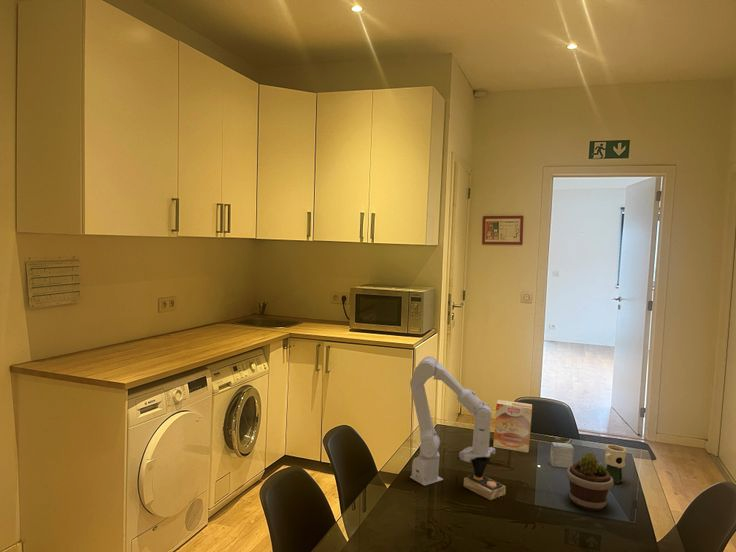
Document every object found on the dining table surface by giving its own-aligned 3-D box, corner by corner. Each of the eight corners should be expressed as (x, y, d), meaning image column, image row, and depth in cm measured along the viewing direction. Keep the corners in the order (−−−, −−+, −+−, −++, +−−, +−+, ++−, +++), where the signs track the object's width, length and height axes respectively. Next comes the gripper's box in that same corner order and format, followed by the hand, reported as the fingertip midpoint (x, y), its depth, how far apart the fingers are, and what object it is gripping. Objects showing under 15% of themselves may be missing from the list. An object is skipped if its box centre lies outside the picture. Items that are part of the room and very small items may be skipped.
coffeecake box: (492, 447, 228) (496, 403, 227) (493, 441, 235) (497, 398, 234) (528, 453, 224) (532, 408, 223) (528, 447, 231) (532, 403, 230)
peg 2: (491, 495, 180) (492, 485, 180) (484, 491, 183) (485, 482, 183) (497, 493, 182) (498, 483, 182) (490, 489, 185) (490, 480, 185)
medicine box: (569, 464, 214) (571, 443, 214) (572, 468, 210) (574, 447, 209) (549, 462, 215) (551, 441, 214) (552, 466, 210) (553, 445, 210)
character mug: (612, 487, 194) (615, 453, 194) (595, 479, 201) (598, 446, 200) (630, 482, 200) (633, 449, 199) (613, 475, 206) (616, 442, 205)
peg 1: (478, 488, 185) (478, 479, 185) (471, 485, 188) (471, 475, 187) (484, 486, 187) (484, 477, 187) (477, 483, 190) (477, 473, 189)
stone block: (457, 463, 212) (480, 466, 206) (455, 451, 213) (478, 453, 207) (469, 456, 222) (492, 458, 216) (468, 445, 222) (490, 446, 217)
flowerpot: (571, 489, 190) (576, 435, 189) (616, 504, 181) (621, 447, 180) (557, 503, 179) (562, 445, 178) (604, 519, 169) (610, 459, 168)
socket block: (490, 500, 178) (490, 489, 178) (463, 486, 187) (464, 476, 187) (505, 494, 183) (505, 484, 183) (478, 481, 192) (479, 471, 192)
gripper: (476, 446, 179) (473, 485, 180) (503, 439, 188) (500, 476, 188) (460, 439, 185) (458, 477, 185) (487, 433, 193) (485, 469, 194)
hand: (478, 476), depth 187 cm, fingers closed, pressing on peg 1
